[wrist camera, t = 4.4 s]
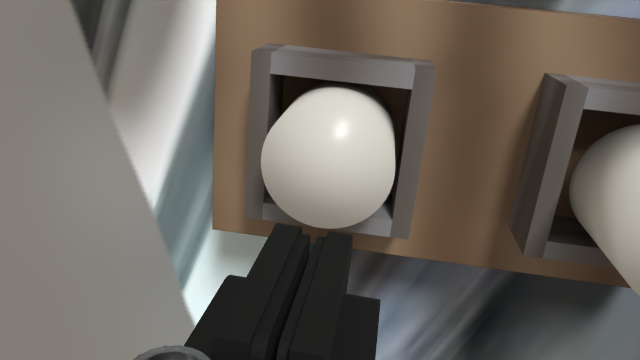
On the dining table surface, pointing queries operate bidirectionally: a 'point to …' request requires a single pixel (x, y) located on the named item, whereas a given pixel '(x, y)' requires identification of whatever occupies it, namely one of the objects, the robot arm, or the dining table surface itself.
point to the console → (436, 120)
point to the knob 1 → (331, 155)
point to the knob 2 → (611, 198)
